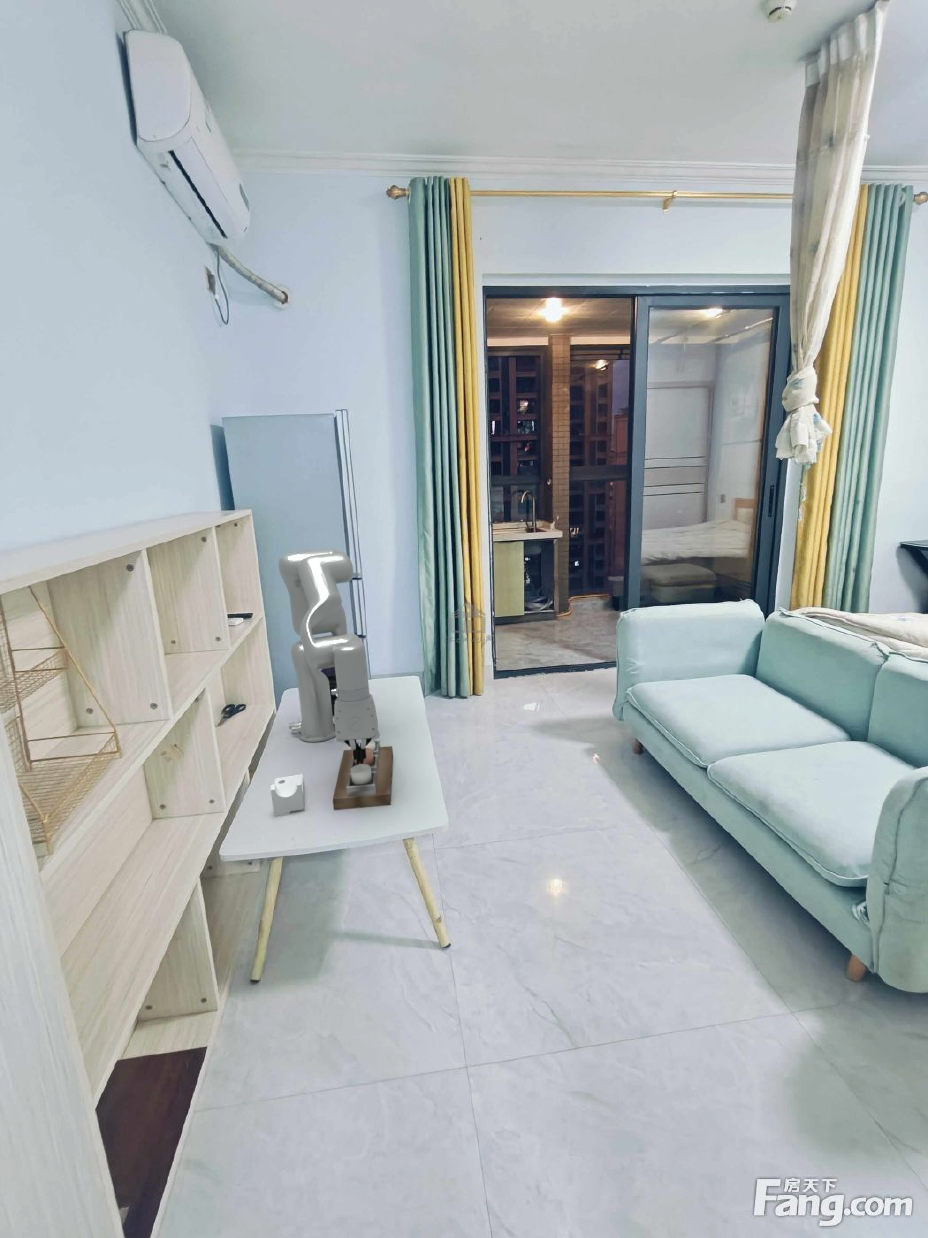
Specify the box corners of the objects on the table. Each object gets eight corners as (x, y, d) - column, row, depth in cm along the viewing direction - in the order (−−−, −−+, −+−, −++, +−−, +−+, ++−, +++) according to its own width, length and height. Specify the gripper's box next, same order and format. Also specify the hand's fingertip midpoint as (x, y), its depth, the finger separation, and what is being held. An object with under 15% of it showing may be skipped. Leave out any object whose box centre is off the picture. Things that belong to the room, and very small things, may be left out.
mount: (333, 810, 142) (331, 790, 141) (344, 759, 167) (342, 742, 166) (390, 804, 144) (389, 785, 142) (393, 755, 169) (391, 738, 167)
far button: (357, 759, 161) (356, 749, 160) (358, 750, 166) (358, 741, 165) (375, 757, 161) (374, 747, 160) (376, 749, 166) (375, 739, 165)
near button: (350, 785, 143) (349, 774, 142) (352, 775, 148) (351, 764, 147) (371, 783, 143) (370, 773, 143) (372, 773, 148) (371, 763, 147)
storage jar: (322, 708, 206) (317, 668, 202) (349, 703, 209) (345, 664, 205) (326, 718, 196) (321, 677, 193) (354, 713, 200) (350, 672, 196)
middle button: (354, 767, 152) (353, 757, 151) (355, 758, 156) (354, 748, 156) (373, 766, 152) (372, 755, 151) (374, 757, 157) (373, 747, 156)
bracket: (304, 812, 143) (301, 784, 141) (274, 817, 141) (270, 790, 139) (304, 785, 155) (301, 760, 153) (276, 790, 153) (273, 764, 151)
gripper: (320, 700, 135) (328, 771, 140) (383, 695, 136) (390, 766, 141) (324, 689, 143) (332, 757, 147) (385, 684, 144) (390, 752, 148)
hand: (360, 761), depth 144 cm, fingers closed
